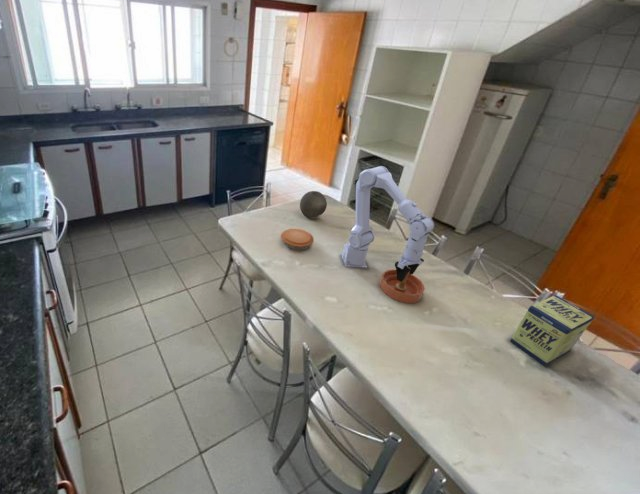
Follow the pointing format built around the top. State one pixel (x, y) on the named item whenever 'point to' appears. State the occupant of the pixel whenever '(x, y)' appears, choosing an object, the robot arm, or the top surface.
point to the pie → (297, 239)
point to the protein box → (551, 329)
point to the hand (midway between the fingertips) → (404, 276)
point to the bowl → (412, 284)
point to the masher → (402, 284)
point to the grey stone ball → (313, 204)
